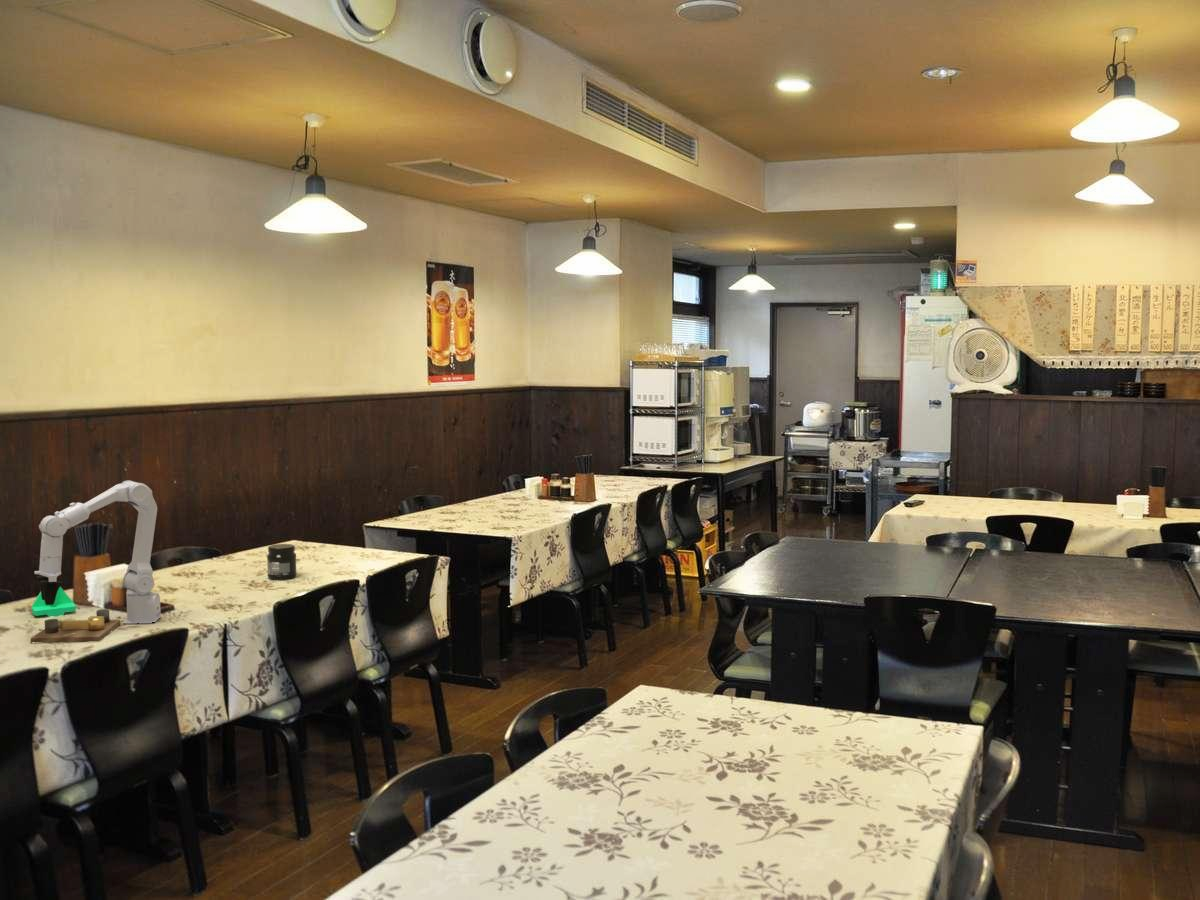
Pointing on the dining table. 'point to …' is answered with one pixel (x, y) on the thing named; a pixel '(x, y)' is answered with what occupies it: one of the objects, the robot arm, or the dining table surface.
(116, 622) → the levelling base
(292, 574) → the supplement container
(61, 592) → the green triangular bracket
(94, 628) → the brass lever handle
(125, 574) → the robot arm
